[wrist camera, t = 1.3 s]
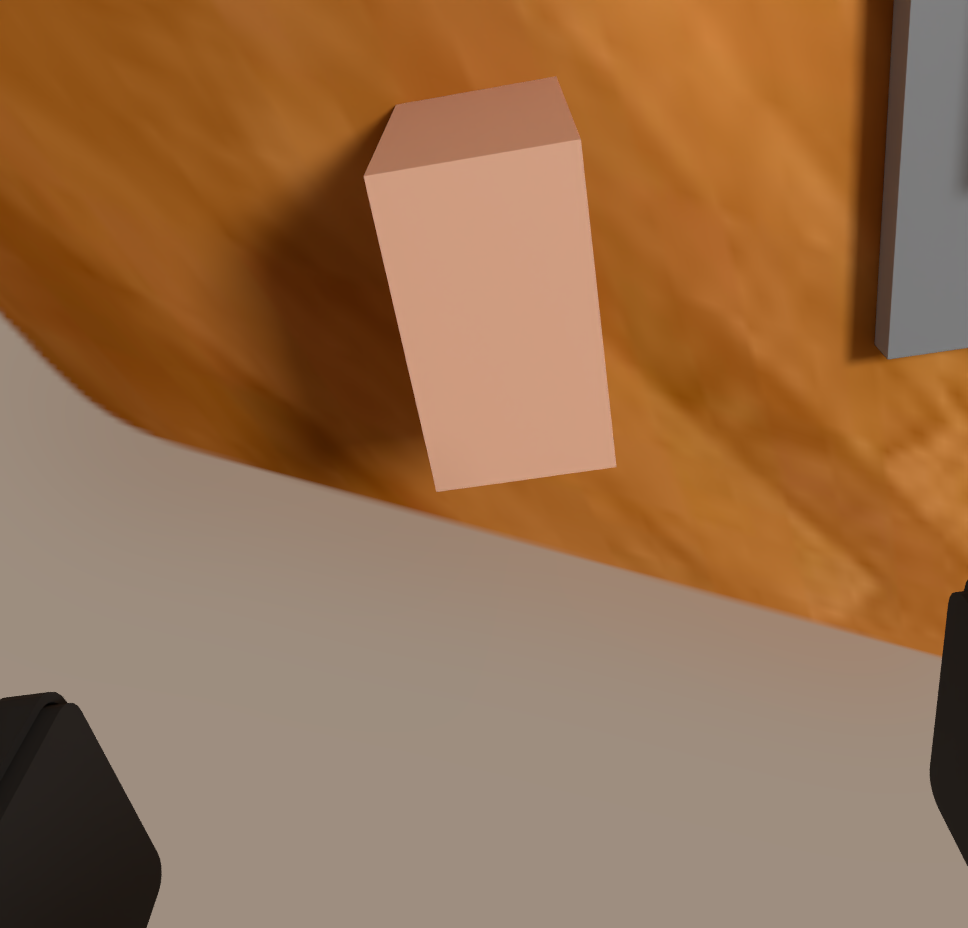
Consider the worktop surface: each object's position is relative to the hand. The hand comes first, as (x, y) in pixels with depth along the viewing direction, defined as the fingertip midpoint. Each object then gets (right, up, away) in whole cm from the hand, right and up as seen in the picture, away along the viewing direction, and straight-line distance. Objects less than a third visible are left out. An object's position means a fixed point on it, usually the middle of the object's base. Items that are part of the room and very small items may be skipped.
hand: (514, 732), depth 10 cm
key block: (0, +9, +14) cm, 17 cm away
